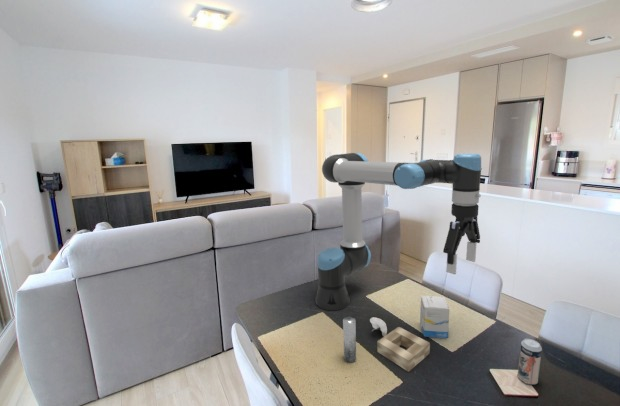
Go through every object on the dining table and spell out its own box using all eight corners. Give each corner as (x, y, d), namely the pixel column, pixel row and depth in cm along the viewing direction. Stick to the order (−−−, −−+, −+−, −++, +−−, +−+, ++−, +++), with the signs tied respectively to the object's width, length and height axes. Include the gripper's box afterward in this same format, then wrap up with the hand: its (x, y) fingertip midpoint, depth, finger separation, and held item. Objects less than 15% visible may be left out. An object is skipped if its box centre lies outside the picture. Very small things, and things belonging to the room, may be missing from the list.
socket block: (377, 351, 101) (377, 341, 100) (398, 336, 108) (398, 326, 107) (408, 372, 91) (408, 360, 91) (429, 353, 99) (429, 342, 98)
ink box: (448, 338, 105) (450, 308, 103) (423, 336, 107) (424, 307, 105) (443, 324, 114) (444, 296, 111) (419, 322, 115) (420, 294, 113)
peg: (341, 358, 99) (340, 320, 96) (349, 352, 101) (349, 315, 98) (350, 364, 96) (349, 325, 93) (358, 358, 98) (358, 320, 95)
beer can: (513, 373, 89) (517, 338, 86) (528, 372, 89) (532, 336, 87) (526, 386, 84) (530, 349, 82) (542, 385, 84) (546, 347, 82)
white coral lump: (383, 332, 114) (393, 322, 111) (380, 344, 108) (390, 334, 105) (366, 318, 116) (375, 309, 113) (362, 329, 110) (371, 319, 107)
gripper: (458, 212, 83) (454, 282, 87) (494, 198, 98) (489, 259, 103) (432, 208, 89) (430, 274, 93) (470, 196, 104) (467, 253, 108)
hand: (461, 266), depth 98 cm, fingers open, 13 cm apart
